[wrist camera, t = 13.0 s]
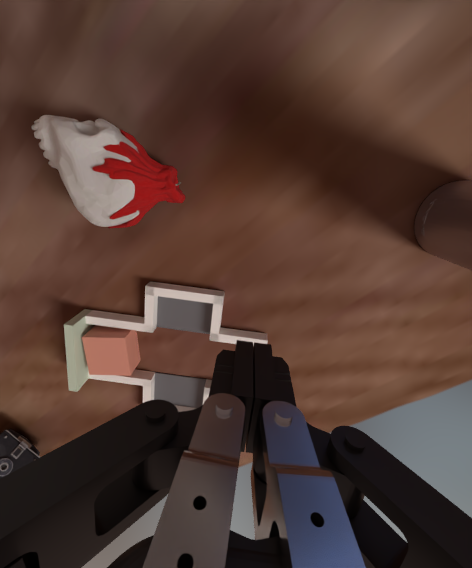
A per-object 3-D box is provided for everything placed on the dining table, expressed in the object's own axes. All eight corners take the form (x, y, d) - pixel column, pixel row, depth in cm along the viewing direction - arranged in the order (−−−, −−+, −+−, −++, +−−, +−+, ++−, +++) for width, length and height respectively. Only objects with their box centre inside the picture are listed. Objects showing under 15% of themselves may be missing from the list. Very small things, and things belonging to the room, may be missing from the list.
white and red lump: (60, 123, 35) (189, 134, 36) (71, 220, 38) (187, 227, 39) (10, 103, 26) (181, 118, 27) (29, 231, 30) (180, 239, 31)
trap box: (273, 297, 41) (275, 312, 36) (251, 420, 48) (251, 446, 43) (82, 272, 41) (60, 283, 36) (89, 398, 48) (71, 421, 43)
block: (136, 324, 43) (125, 337, 40) (140, 359, 45) (130, 375, 42) (96, 324, 44) (81, 337, 40) (102, 358, 46) (89, 374, 42)
